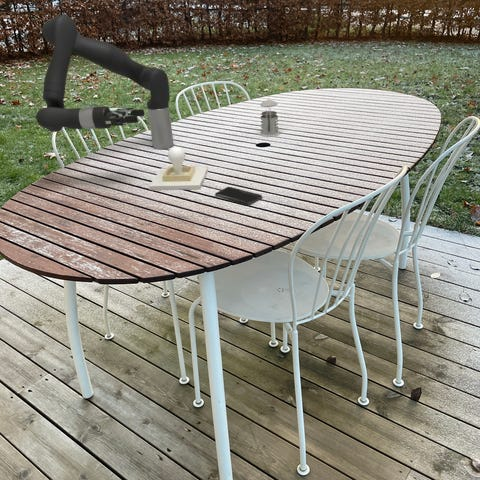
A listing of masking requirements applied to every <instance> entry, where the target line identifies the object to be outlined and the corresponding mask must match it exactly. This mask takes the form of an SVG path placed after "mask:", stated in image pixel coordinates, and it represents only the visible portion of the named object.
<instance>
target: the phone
mask: <svg viewBox="0 0 480 480" xmlns="http://www.w3.org/2000/svg"><path fill="white" fill-rule="evenodd" d="M214 196H215V197H216V198H219V199H223V200H227V201H229V202H232V203H233V202H234V203H236V204H240V205H244V206H252V205H253V204H255V203H257V202H258V201H260V200H262V199H263V195H262V194H259V193H254V192H252V191H247V190H244V189H240V188H237V187H232V186H227V187H225V188H222V189H221V190H218V191H217V192H215V193H214Z"/></svg>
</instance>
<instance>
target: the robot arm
mask: <svg viewBox="0 0 480 480" xmlns="http://www.w3.org/2000/svg"><path fill="white" fill-rule="evenodd" d="M41 30H42V35H43V37H44V39H45V40H46V42H48V43H49V44H50V45H52V46H54V47H53V51H52V56H51V59H50V61H49V62H50V63H49V65H48V67H47V70H46V73H45V76H44V82H43V90H42V98H43V100H44V102H45V104H46V106H45V107H43V108H40V109H39V110H38V111H37V112H36V115H35V120H36V122H37V124H38V125H39V126H40V127H42V128H43V129H46V130H48V131H50V132H52V133H53V132H54V133H58V132H60V131H61V130H62V129H64V128H67V129H71V130H85V129H86V130H96V129H97V130H101V129H102V130H103V129H110V128H112V127H121V126H122V127H123V126H124V125H126V124H137V123H138V122H139V119H138V117H145V115H146V114H145V110H144V109H143V108H142V109H134V108H133V107H127V108H126V107H125V108H124V107H123V108H116V109H115V110H113V111H111V108H110V107H109V106H106V105H103V106H101V105H100V106H86V107H78V108H77V107H75V108H65V107H66V106H65V93H66V83H67V77H68V72H69V67H70V63H71V58H72V54H75V55H76V56H77V55H78V56H79V57H81V58H84V59H85V60H87V61H89V62H92V63H93V64H96V65H97V66H99V67H101V68H102V69H105V70H107V71H109V72H111V73H114V74H116V75H118V76H121V77H123V78H126V79H129V80H130V81H133V82H134V83H136V84H137V85H139V86H141V87H142V88H143V89H145V90H147V91H150V92H149V93H150V98H149V100H147V101H146V108H147V114H148V115H147V116H148V121H149V122H148V123H149V128H150V134H151V142H152V147H153V149H155V150H165V149H171V148H173V147H174V145H175V144H174V136H173V129H172V120H171V113H170V97H171V96H170V84H169V83H170V82H169V78H168V75H167V73H166V71H165V70H163V69H162V68H156V67H151V66H146V65H144V64H141V63H138V62H137V61H135V60H133V59H132V58H131V56H129V54H127V53H126V52H125V51H124V50H122V49H121V48H119V47H117V46H115V45H113V44H112V43H109V42H108V41H107V42H106V41H104V40H100V39H97V38H91V37H87V36H84V35H81V34H79V33H78V26H77V24H76V23H75V21H74V20H73V18H71V17H70V16H68V15H66V14H65V15H64V14H60V15H57V16H55V17H54V16H53V17H52V18H50V19H48V20H47V21H45V22H44V23H43V25H42V29H41Z"/></svg>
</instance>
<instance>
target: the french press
mask: <svg viewBox="0 0 480 480" xmlns="http://www.w3.org/2000/svg"><path fill="white" fill-rule="evenodd" d="M270 81H271V78H270V77H267V78H266V82H267V88H268V95H267V96H270V88H269V87H270V85H269V83H270ZM278 103H279V102H277V101H275V100H270V99H267V100H264V101H262V102H260V104H259V105H260V107H261V108H262V107H263V108H269V110H268V109H266V111H262V112H261V113H260V114H261V115H260V128H261V129H260V130H261V131H260V133H259V134H258V135H259V136H260V137H264V138H274V137H279V136H280V135H281V133H280V131H279V123H278V122H279V120H278V119H279V115H278V112H277V111H274V110H271V109H270V108H271V107H272V108H273V107H276V106H278Z"/></svg>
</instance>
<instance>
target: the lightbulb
mask: <svg viewBox="0 0 480 480" xmlns="http://www.w3.org/2000/svg"><path fill="white" fill-rule="evenodd" d="M167 158H168V160H169V162H170V163H171V164H172V167H174V170H175V174H176V175H182V169H183V167H182V166H184V165H183V164H184V162H185V159H186V153H185V150H184V149H183V148H182V147H179V146H172V147H170V148H169V151H168V152H167Z"/></svg>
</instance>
